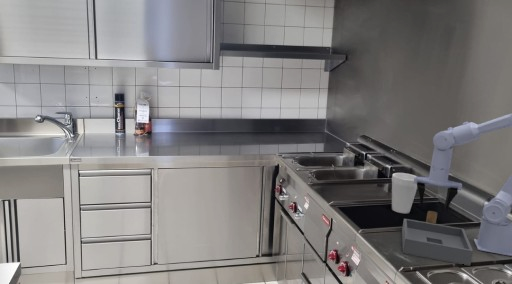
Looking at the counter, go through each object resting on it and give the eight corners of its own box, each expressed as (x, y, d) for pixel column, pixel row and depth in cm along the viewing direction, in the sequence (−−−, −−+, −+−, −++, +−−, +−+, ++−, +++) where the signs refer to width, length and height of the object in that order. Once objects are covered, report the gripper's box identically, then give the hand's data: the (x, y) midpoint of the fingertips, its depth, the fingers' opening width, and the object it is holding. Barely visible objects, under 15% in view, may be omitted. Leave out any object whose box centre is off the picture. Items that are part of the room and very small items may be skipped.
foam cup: (407, 206, 172) (412, 173, 169) (418, 215, 163) (424, 180, 160) (383, 205, 170) (388, 172, 168) (394, 214, 161) (399, 179, 159)
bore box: (461, 242, 142) (463, 228, 141) (470, 266, 126) (473, 251, 125) (401, 231, 146) (403, 218, 145) (402, 253, 130) (405, 238, 129)
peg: (433, 228, 151) (436, 211, 150) (434, 231, 148) (437, 214, 147) (424, 227, 152) (427, 210, 151) (425, 230, 149) (428, 213, 148)
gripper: (462, 167, 148) (455, 207, 150) (416, 161, 151) (409, 199, 154) (465, 173, 141) (458, 214, 144) (417, 166, 145) (410, 206, 148)
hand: (433, 207), depth 149 cm, fingers open, 7 cm apart
